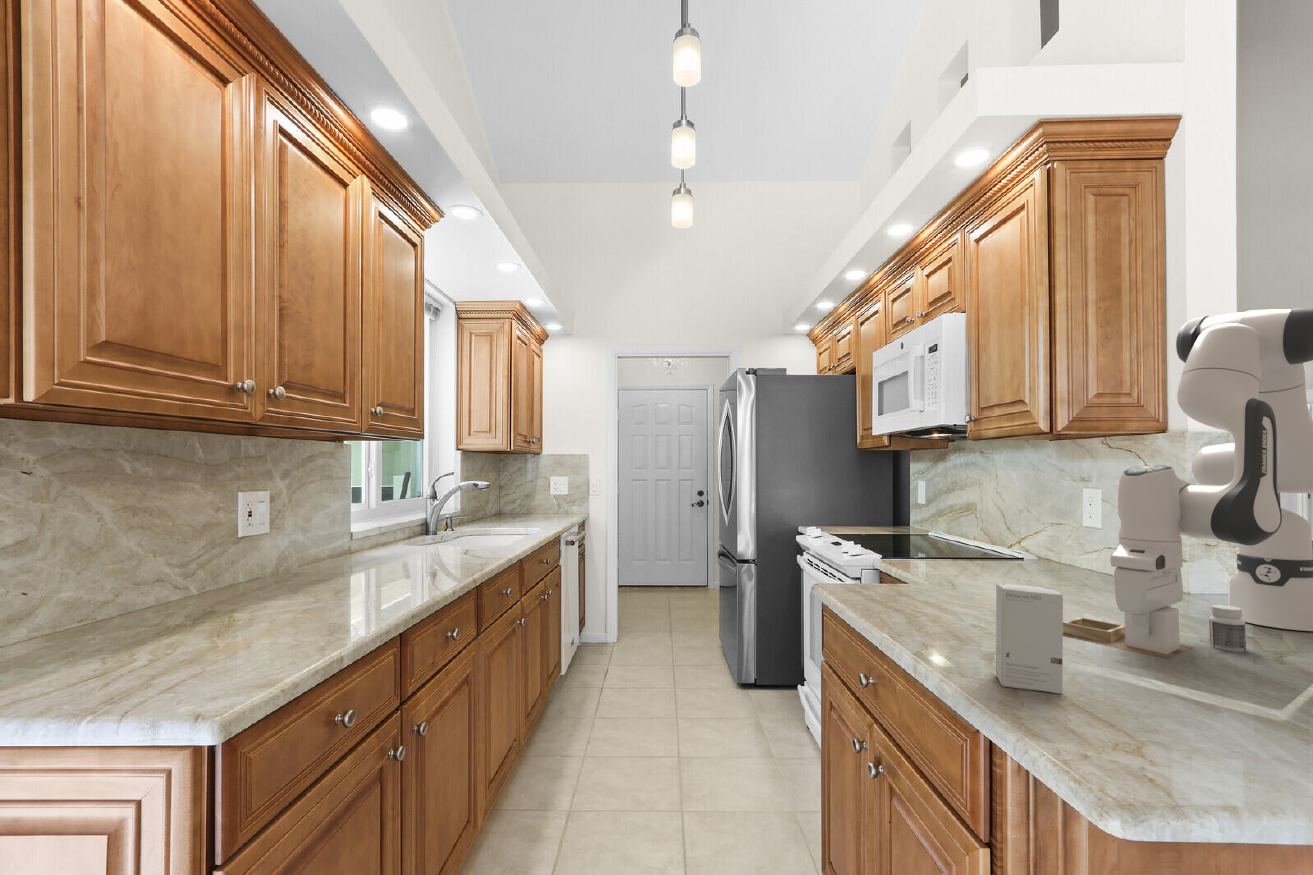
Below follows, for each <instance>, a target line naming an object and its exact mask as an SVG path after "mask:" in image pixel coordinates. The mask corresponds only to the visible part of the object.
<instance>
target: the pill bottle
mask: <svg viewBox="0 0 1313 875" xmlns="http://www.w3.org/2000/svg"><path fill="white" fill-rule="evenodd" d="M1210 610H1211V611H1210V612H1211V615H1210V616H1209V619H1208V624H1209V645H1210V647H1211V648H1214V649H1216V650H1217V649H1218V650H1221V651H1227V652H1235V653H1245V652H1247V634H1246V622H1244V621H1243V620H1242V619H1241V618H1240V617H1242V609H1241V608H1238V607H1232V606H1228V605H1222V604H1214V605H1213V604H1212V605H1211V606H1210Z"/></svg>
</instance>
